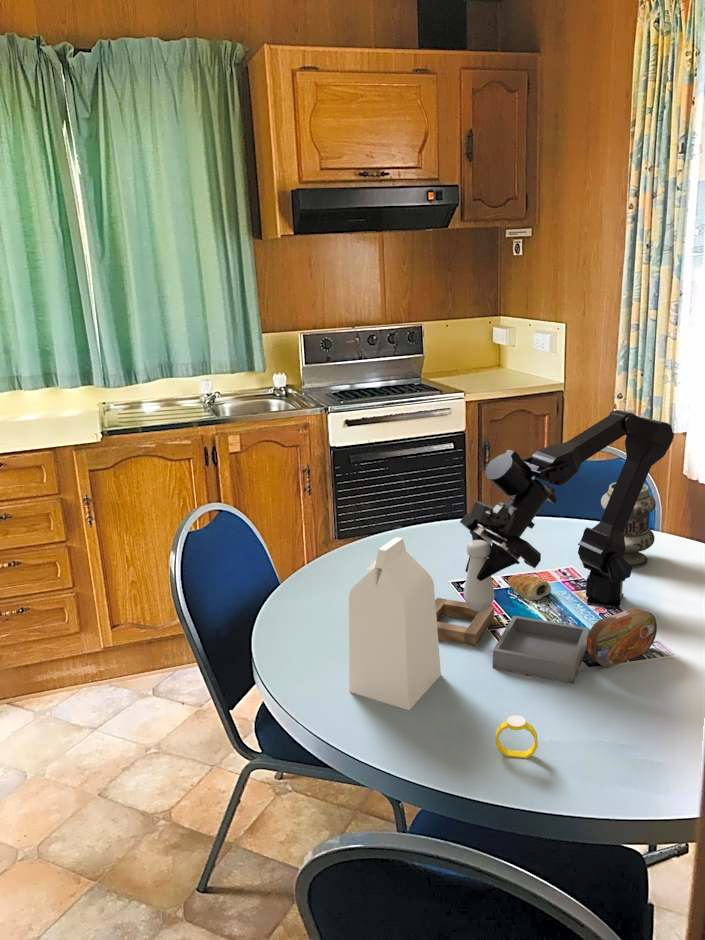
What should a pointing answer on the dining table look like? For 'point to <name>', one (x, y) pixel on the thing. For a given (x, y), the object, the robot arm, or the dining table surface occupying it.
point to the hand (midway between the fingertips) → (472, 576)
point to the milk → (393, 630)
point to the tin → (621, 637)
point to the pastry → (529, 586)
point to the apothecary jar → (636, 527)
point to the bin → (541, 649)
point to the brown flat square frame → (462, 633)
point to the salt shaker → (477, 591)
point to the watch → (516, 724)
